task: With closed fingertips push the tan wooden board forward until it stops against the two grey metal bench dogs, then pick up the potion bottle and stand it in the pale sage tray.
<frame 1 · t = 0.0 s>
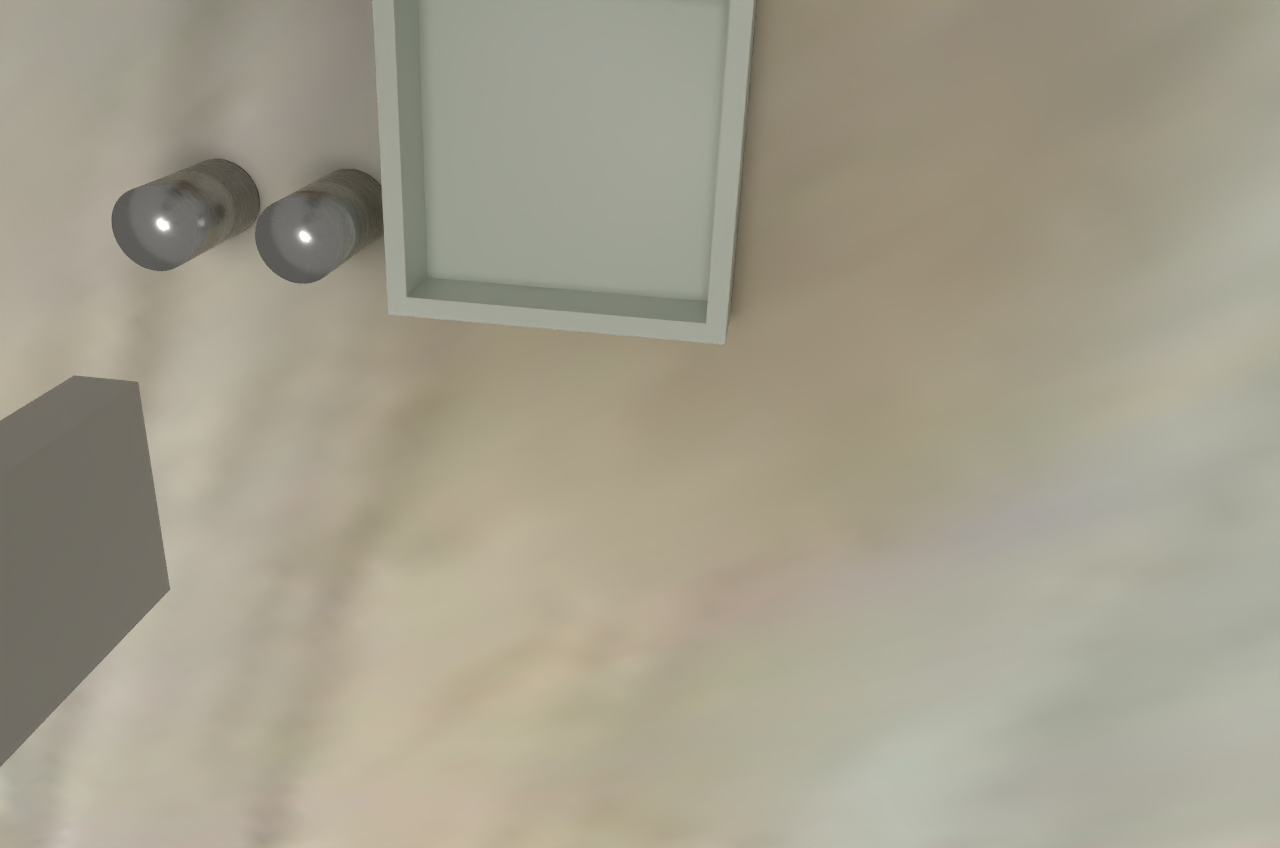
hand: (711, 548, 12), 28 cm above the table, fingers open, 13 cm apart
tray: (573, 140, 38), on the table
bench dogs: (287, 202, 41), on the table
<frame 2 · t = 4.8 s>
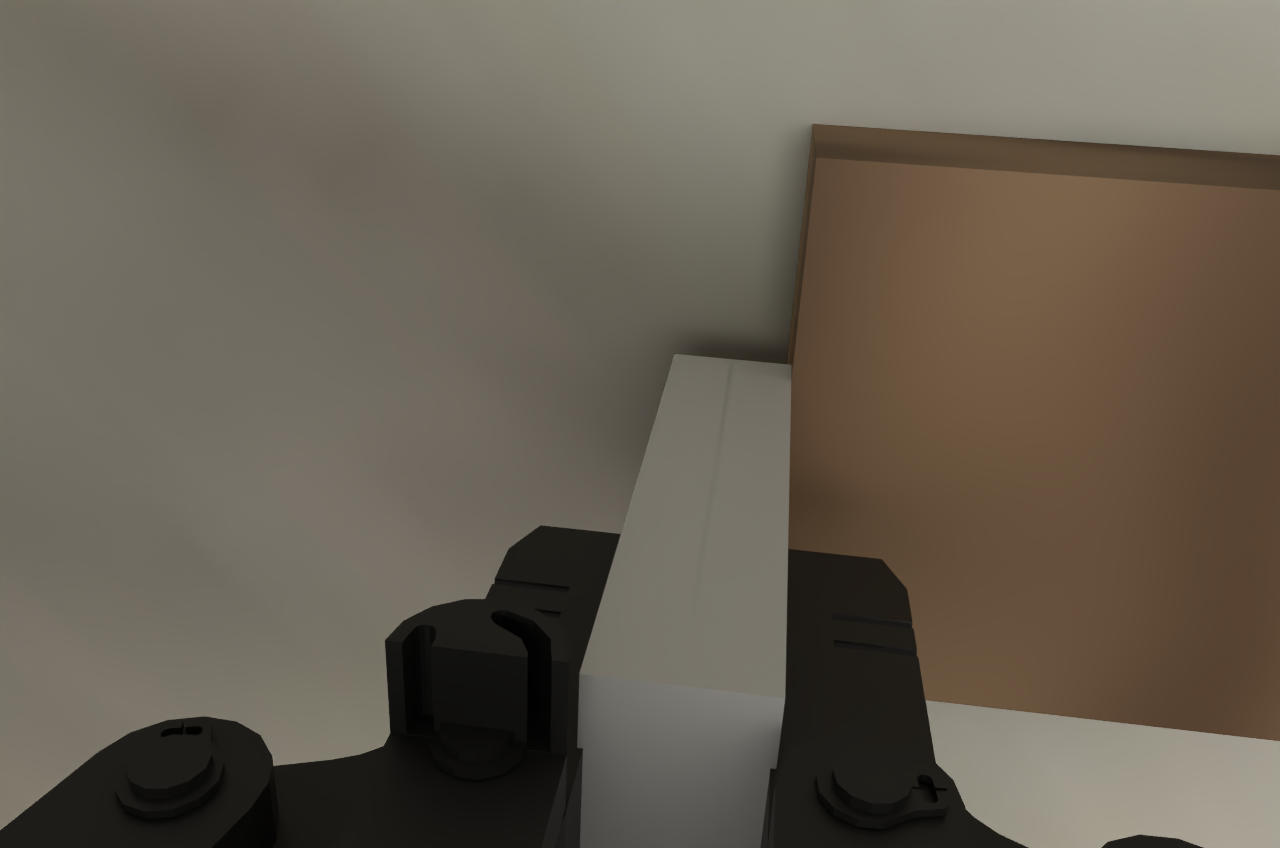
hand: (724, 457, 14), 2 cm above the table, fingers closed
tan wooden board: (1148, 404, 15), on the table
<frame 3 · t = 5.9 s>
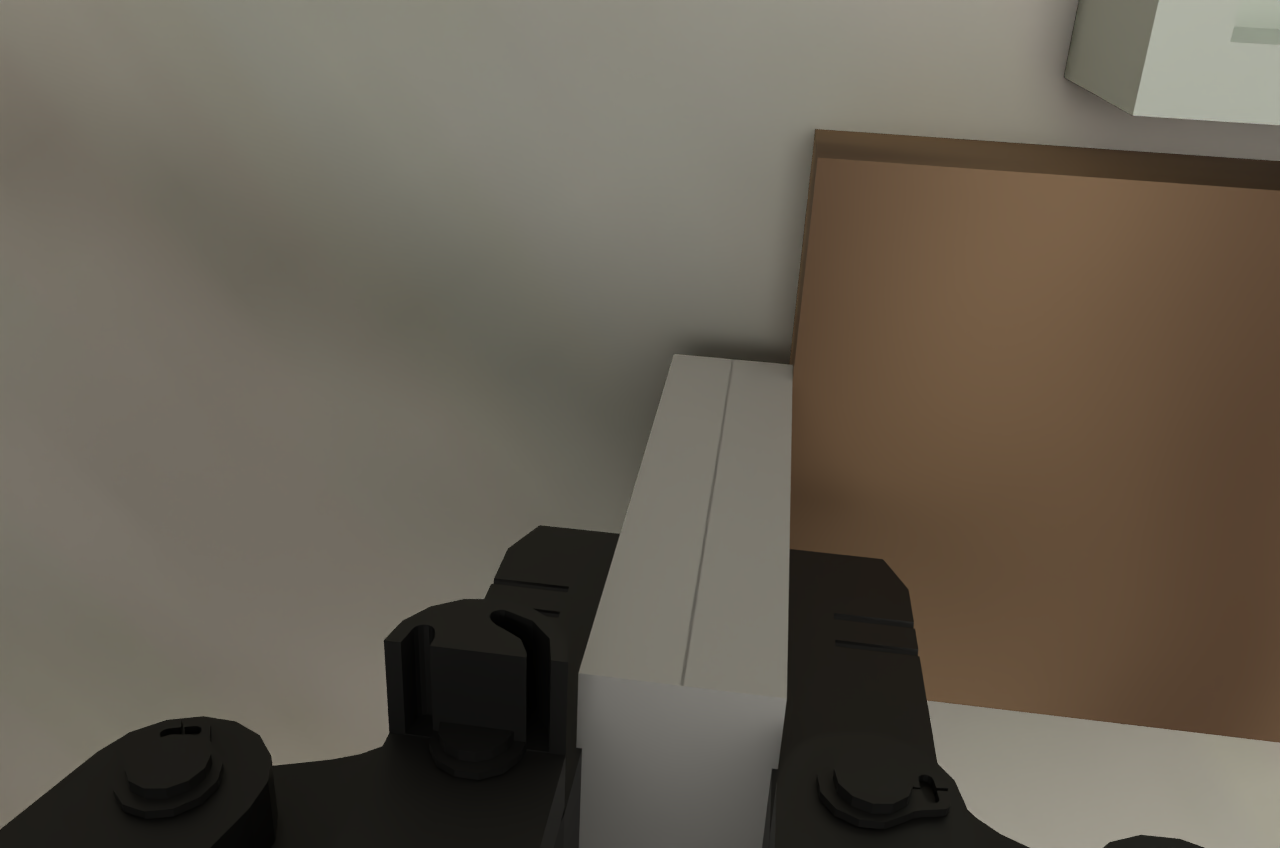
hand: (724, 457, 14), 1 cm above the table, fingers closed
tan wooden board: (1150, 406, 15), on the table
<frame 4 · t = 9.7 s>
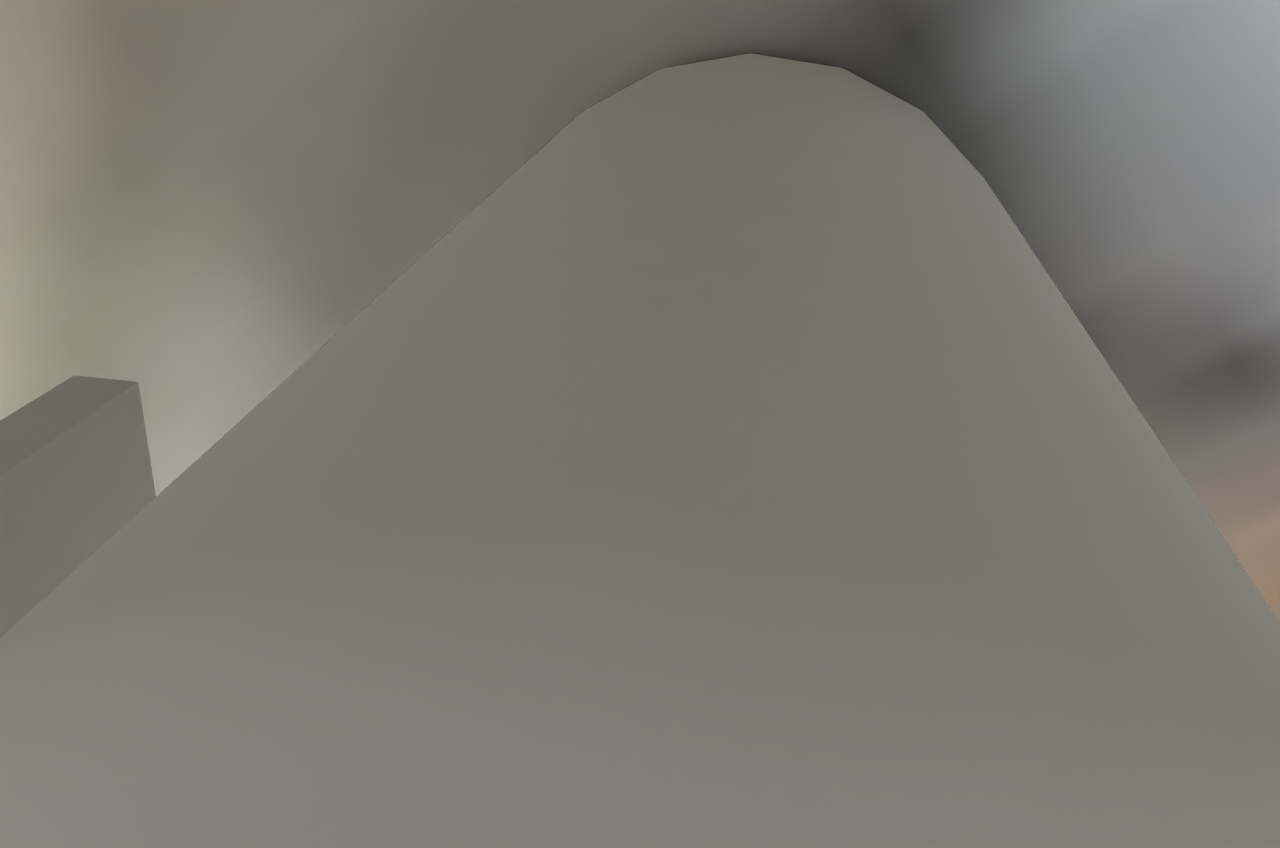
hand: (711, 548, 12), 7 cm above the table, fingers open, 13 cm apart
potion bottle: (748, 305, 18), on the table
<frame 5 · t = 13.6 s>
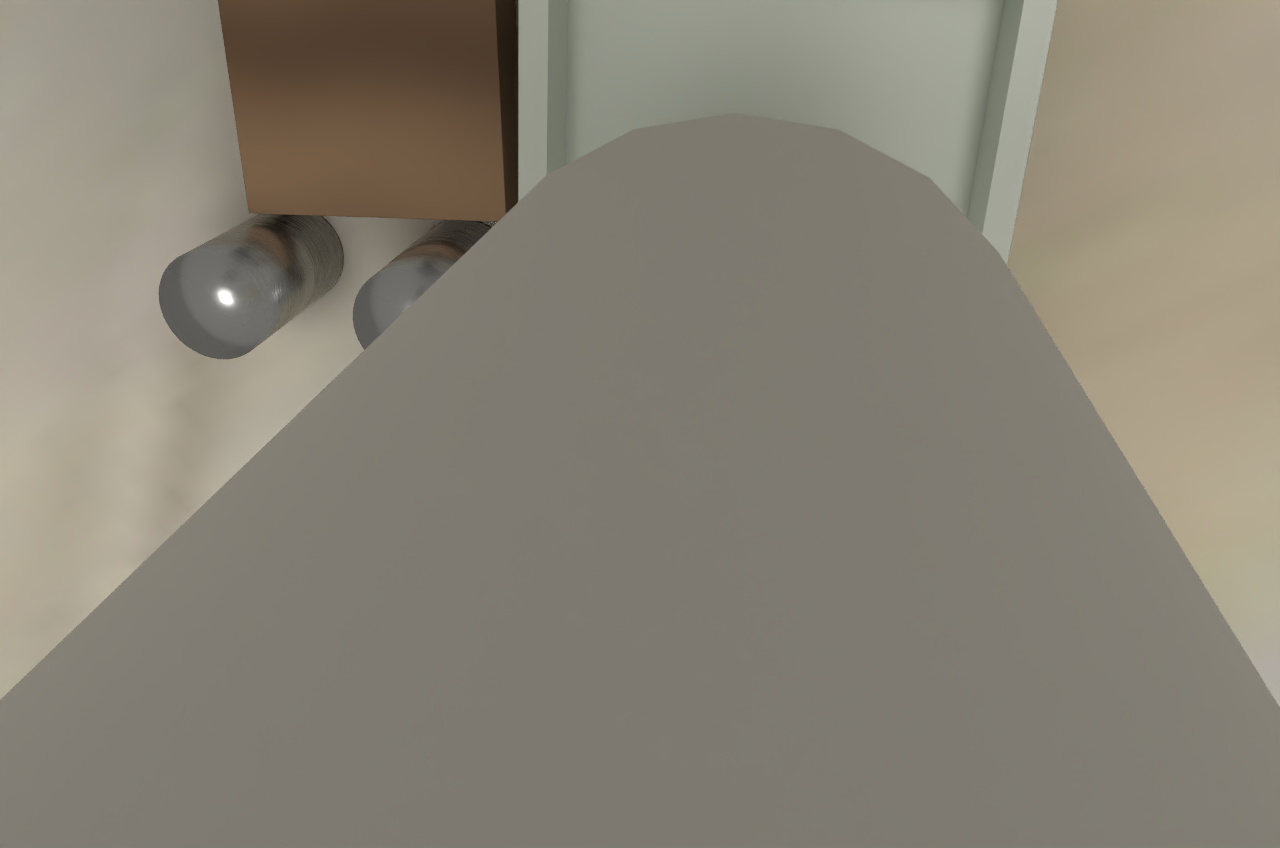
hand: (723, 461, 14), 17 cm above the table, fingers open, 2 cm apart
tan wooden board: (390, 7, 29), on the table
tray: (764, 182, 29), on the table
potion bottle: (734, 385, 17), point 14 cm above the table, touching hand
bench dogs: (380, 259, 31), on the table
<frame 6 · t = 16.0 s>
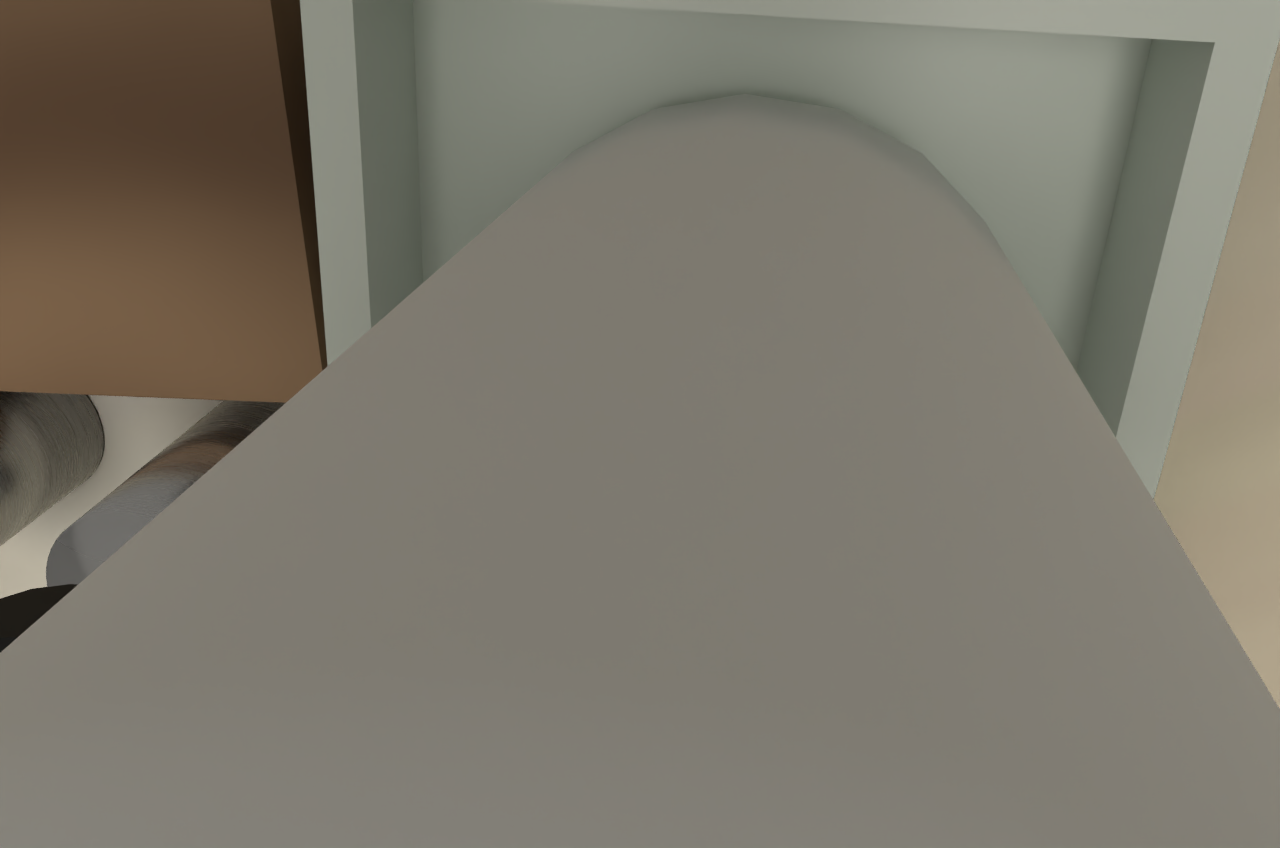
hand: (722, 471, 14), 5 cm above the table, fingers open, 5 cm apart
tan wooden board: (144, 59, 18), on the table
tray: (741, 338, 18), on the table
potion bottle: (744, 348, 18), resting on tray
bench dogs: (157, 437, 21), on the table
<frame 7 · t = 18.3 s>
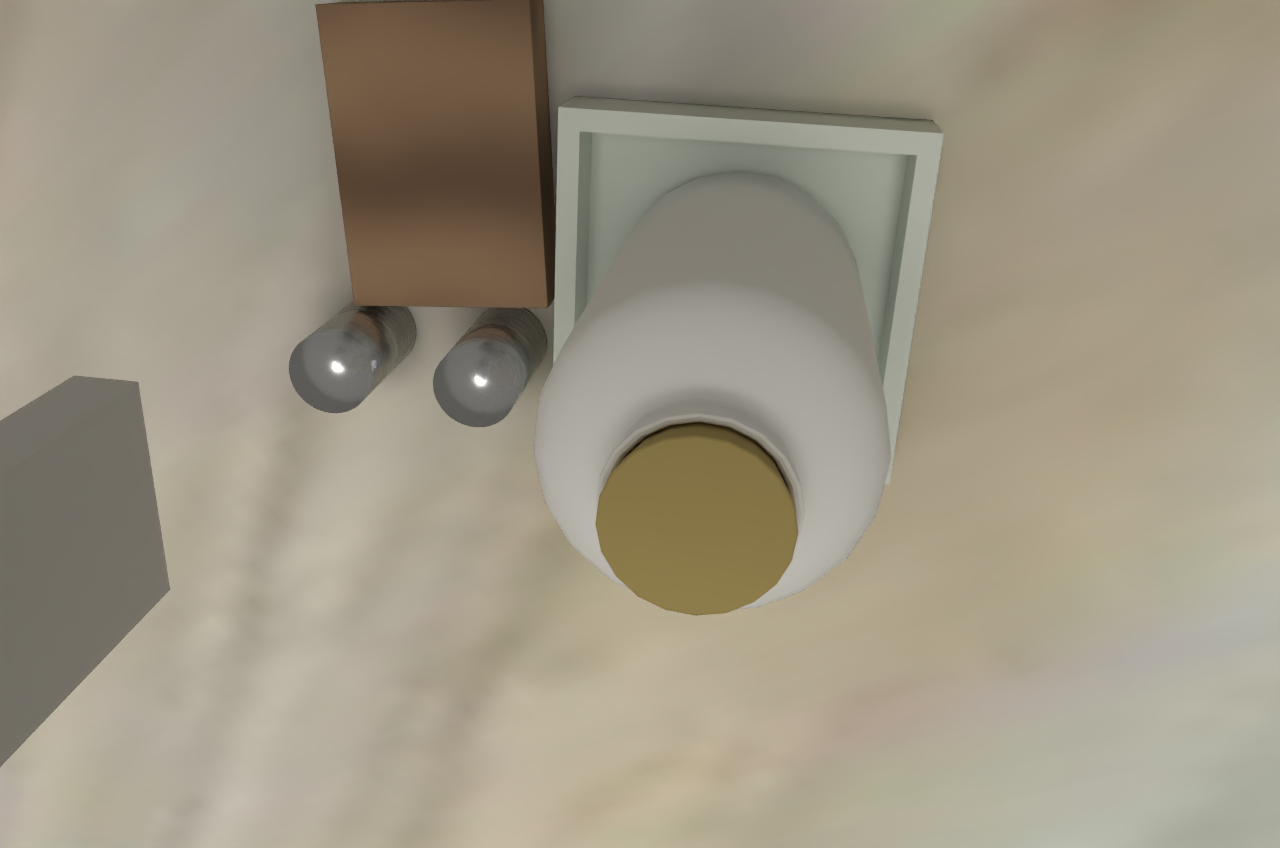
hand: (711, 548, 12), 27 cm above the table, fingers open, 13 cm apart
tan wooden board: (457, 150, 39), on the table
tray: (736, 280, 39), on the table
potion bottle: (737, 284, 39), resting on tray
bench dogs: (444, 334, 41), on the table
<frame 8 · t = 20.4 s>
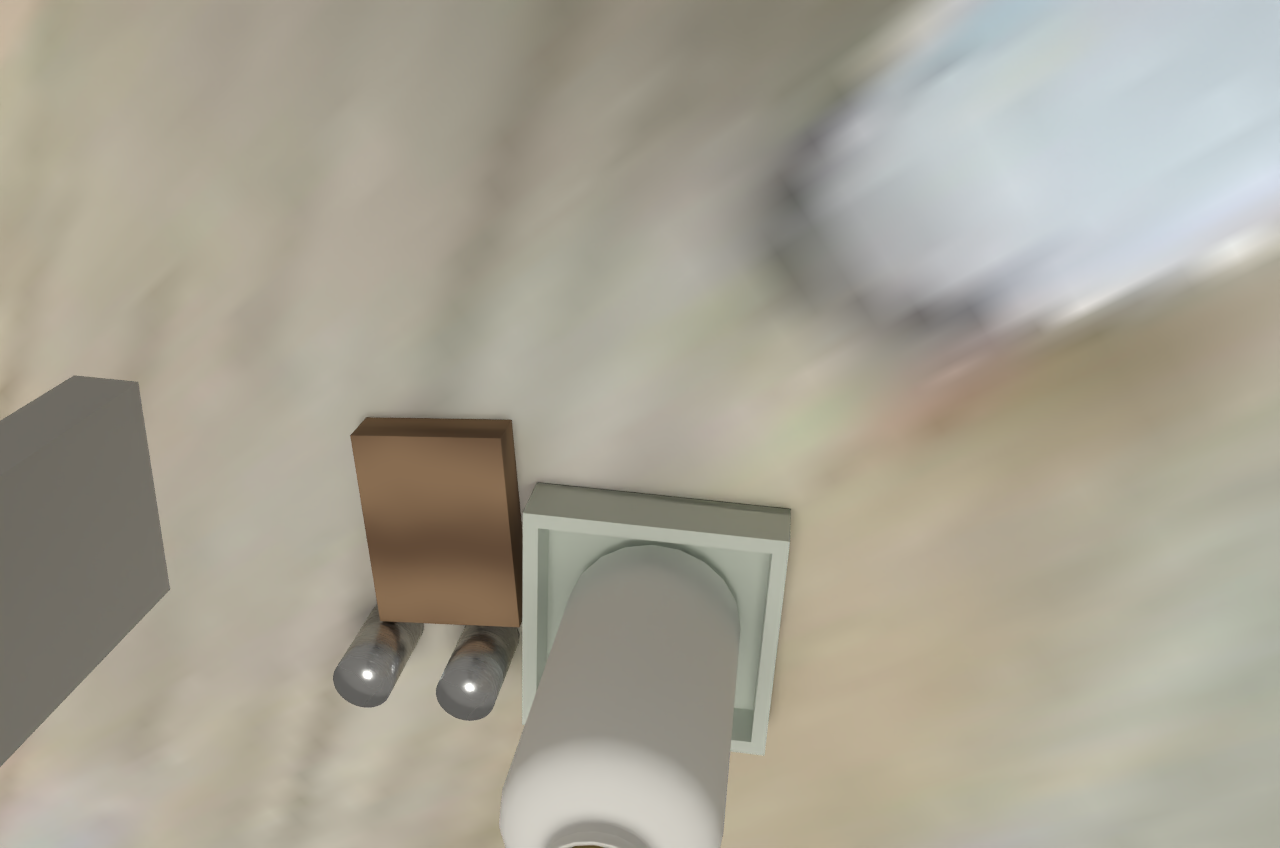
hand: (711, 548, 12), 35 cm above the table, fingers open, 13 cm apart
tan wooden board: (452, 508, 54), on the table
tray: (655, 602, 54), on the table
potion bottle: (656, 607, 53), resting on tray
bench dogs: (444, 628, 56), on the table
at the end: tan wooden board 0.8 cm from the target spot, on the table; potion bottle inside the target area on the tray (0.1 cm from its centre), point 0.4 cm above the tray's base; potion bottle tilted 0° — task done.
